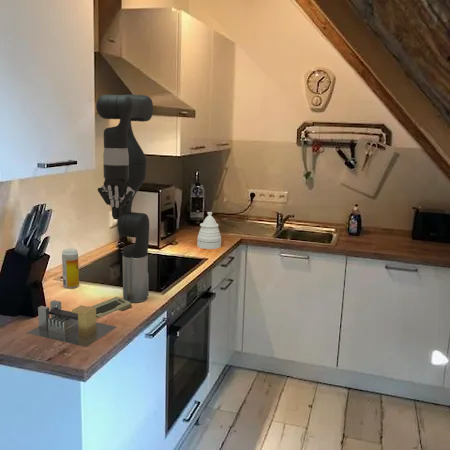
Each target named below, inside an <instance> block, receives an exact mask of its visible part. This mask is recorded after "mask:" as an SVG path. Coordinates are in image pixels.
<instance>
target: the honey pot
mask: <svg viewBox="0 0 450 450" xmlns="http://www.w3.org/2000/svg"><path fill="white" fill-rule="evenodd" d="M206 213H207V216H206V217H205V218H204V220H203V222H201V223H200V224H199V226H200V229H199V230H198V231H199V232H198V234H197V242H196V246H197V247H198V248H200V249H203V250H204V249H205V250H215V249H219V248H221V247H222V236H221V232H220V229H219V224H218V223H217V221H216V219H215V218H214V216H212V215H213V212H212V211H207V212H206Z"/></svg>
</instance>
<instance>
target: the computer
mask: <svg viewBox="0 0 450 450" xmlns="http://www.w3.org/2000/svg"><path fill="white" fill-rule="evenodd" d="M90 307H94V308H96V319H97V318H99V319H100V318H102V317H105V316H106V315H109V314H112V313H114V312H117V311H120V312H124V311H126V310H128V309H130V308H132V302H128V301H126V300H124V299H123V297H120V296H115V297H112V298H110V299H107V300H104V301H102V302H98V303H97V304H94V305H91V306H90Z"/></svg>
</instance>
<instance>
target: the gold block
mask: <svg viewBox="0 0 450 450" xmlns="http://www.w3.org/2000/svg"><path fill="white" fill-rule="evenodd" d="M71 312H72V313H77V314H78V329H79V336H84V337H88V336H89V335H91V334H93V333H94V332H96V331H97V327H96V322H97V317H96V308H94V307H91V306H90V305H89V306H88V305H87V306H86V305H82V304H81V305H79V306H77V307H74V308H73V309H71Z"/></svg>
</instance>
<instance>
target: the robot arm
mask: <svg viewBox="0 0 450 450" xmlns="http://www.w3.org/2000/svg"><path fill="white" fill-rule="evenodd" d="M95 108H96V111H97V114H98V116H99V117H100V118H102V119H104V120H119V121H118V124H117V125H116V126H111V127H106V128H105V129H104V130H103V156H102V158H103V159H102V161H103V163H102V164H103V166H102V167H103V179H104V182H103V185H102V186H101V187H98V188H97V192H98V193H99V196H101V198H102V199H103V201H104V203H105V204H106V205H107V206H108V205H109V206H110V207H111V217H112V218H113V220H117V225H116V226H117V232H118V234H119V235H120V236H122V237H126V238H128V237H129V238H135V241H134V243H131V244H128V245H126V246H124V247H123V248H122V299H124V300H126V301H128V302H130V303H141V302H142V303H143V302H145V301H147V300H148V298H149V290H150V289H149V272H148V271H149V268H148V267H149V266H148V263H149V262H148V257H149V255H148V253H149V252H148V251H149V245H150V244H149V239H150V218H149V216H148V214H147V213H144V212H135V211H133V212H132V205H133V200H134V198H135V196H136V194H137V193H138V192H139V190H140V188H141V186H143V184H144V181H145V179H146V176H147V157H146V154H145V153H144V151H143V149H142V147H141V146H140V144H139V141H137V138H136V137H135V134H134V131H133V127H132V122H140V123H141V122H142V123H143V122H149V121H150V120H152V118H153V113H154V104H153V99H152V98H151V97H150V96H148V95H144V94H126V93H125V94H124V95H123V94H102V95H100V96H99V97H98V98H97V100H96V104H95Z"/></svg>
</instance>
